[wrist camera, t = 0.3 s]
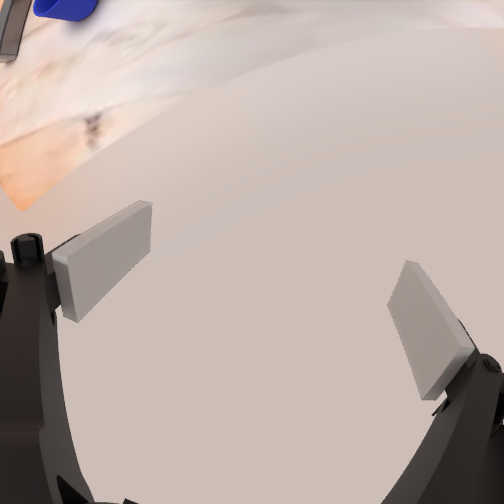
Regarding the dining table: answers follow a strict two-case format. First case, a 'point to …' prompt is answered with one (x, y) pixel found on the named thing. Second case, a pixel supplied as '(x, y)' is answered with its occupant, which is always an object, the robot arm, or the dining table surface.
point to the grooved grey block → (11, 27)
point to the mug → (64, 9)
